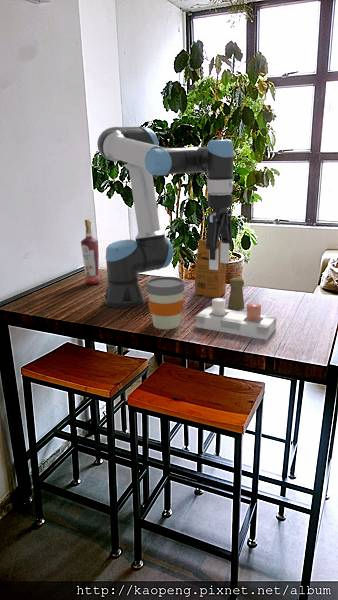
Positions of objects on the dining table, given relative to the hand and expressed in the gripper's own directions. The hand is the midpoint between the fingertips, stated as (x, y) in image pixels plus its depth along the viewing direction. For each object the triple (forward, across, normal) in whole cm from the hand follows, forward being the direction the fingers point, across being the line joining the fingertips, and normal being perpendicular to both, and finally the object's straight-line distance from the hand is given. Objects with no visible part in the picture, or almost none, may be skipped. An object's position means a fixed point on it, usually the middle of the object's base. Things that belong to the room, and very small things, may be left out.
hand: (219, 265), depth 145 cm
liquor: (+21, +21, +69) cm, 75 cm away
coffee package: (+21, +29, +16) cm, 39 cm away
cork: (+21, +19, +1) cm, 28 cm away
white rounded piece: (+16, 0, 0) cm, 16 cm away
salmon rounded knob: (+16, 0, -12) cm, 20 cm away
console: (+20, 0, -6) cm, 21 cm away
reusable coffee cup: (+21, -7, +16) cm, 27 cm away
